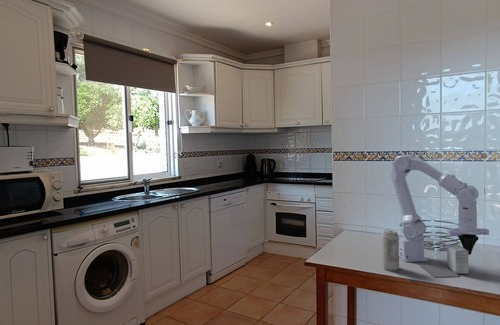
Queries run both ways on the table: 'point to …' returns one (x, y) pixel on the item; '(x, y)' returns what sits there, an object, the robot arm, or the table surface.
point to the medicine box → (457, 259)
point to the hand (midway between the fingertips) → (467, 253)
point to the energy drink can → (390, 250)
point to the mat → (439, 271)
